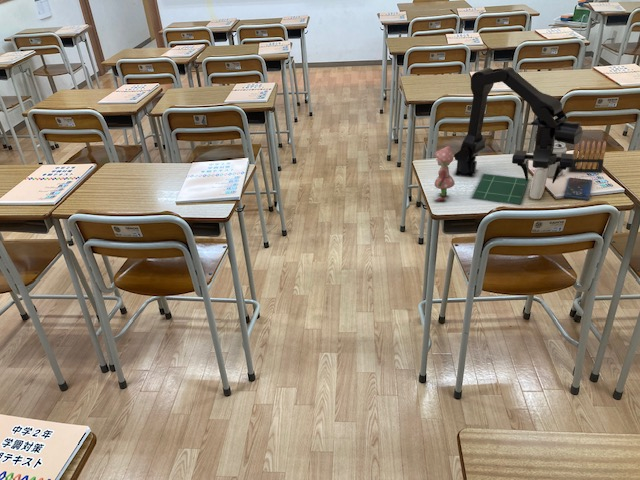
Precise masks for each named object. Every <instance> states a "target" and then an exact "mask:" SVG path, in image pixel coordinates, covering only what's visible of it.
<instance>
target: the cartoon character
mask: <svg viewBox="0 0 640 480" xmlns="http://www.w3.org/2000/svg"><path fill="white" fill-rule="evenodd" d="M434 156H435V157H436V162H437V165H438V166H441V167H440V168H439V170H438V172H437V173H438V176H437V178H436V179H435V181H434V187H435V188H436V189H439V190H440V192H439V195H440V197H439V198H436V201H437V202H444V201H445V200H446V197H447V196H448V193H447V191H448V189H451V188H453V187H454V186H455V179H453V177H452V175H450V169H449V166H450V164H451V163H452V162H453V161H454V154H453V150H452V149H451V147H450V146H449V145H446V146H445V147H443V148H441V149H439V150H436V152H435V153H434Z"/></svg>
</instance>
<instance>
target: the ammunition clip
mask: <svg viewBox="0 0 640 480" xmlns="http://www.w3.org/2000/svg"><path fill="white" fill-rule="evenodd" d="M601 144H602V145H601ZM606 148H607V141H606V140H604V141H603V143H602V142H601V140H598V142H597V144H596V140H593V142H592V143H591V141H590V140H587V142H586V145H585V140H582V141H581V144H580V142H579V143H578V144H577V145H574V150H573V152H572V154H573V155H574V162H573V167H572V168H568V170H569V172H570V173H602V172H603V166H604V161H605V155H606Z"/></svg>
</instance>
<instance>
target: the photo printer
mask: <svg viewBox="0 0 640 480" xmlns="http://www.w3.org/2000/svg"><path fill="white" fill-rule="evenodd" d="M549 168H550V165H549V166H548V168H546V169H543V168H534V172H533V176H532V180H531V181H532V182H531V185H530V190H529V198H531V199H533V200H540V199H541V198H542V197H543V194H544V191H545V188H546V183H547V181H548V180H547V179H548V177H547V176H548V172H549Z"/></svg>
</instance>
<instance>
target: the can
mask: <svg viewBox="0 0 640 480" xmlns="http://www.w3.org/2000/svg"><path fill="white" fill-rule="evenodd" d="M566 145H567V143H563V142H558V141H557V140H555V142H554V149H553V153H555V154H557V156H558V157H561V155H562V153H566V154H567V151H568V148H567V146H566ZM557 164H558V162H555V164H552V165H550V168H549V172H548V176H547V178H553V177H554V174H555V170H556V167H557ZM563 172H564V169H563V170H562V171H561V172H560V173H559V174H558V176H557V178H558V177H560V176H561V175H562V174H563Z"/></svg>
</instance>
